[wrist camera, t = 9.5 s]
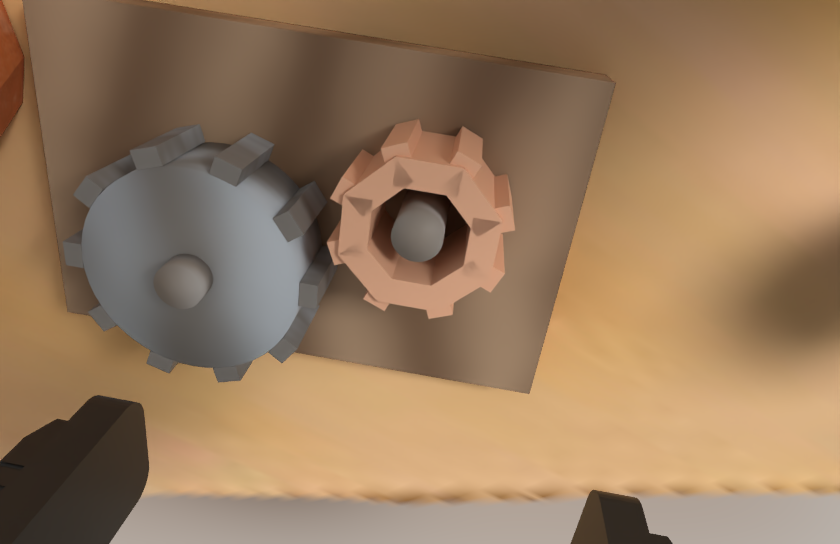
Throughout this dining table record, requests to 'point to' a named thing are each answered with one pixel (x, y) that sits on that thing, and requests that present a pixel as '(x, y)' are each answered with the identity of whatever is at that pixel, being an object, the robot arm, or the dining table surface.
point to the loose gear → (435, 173)
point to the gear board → (322, 139)
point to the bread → (9, 71)
